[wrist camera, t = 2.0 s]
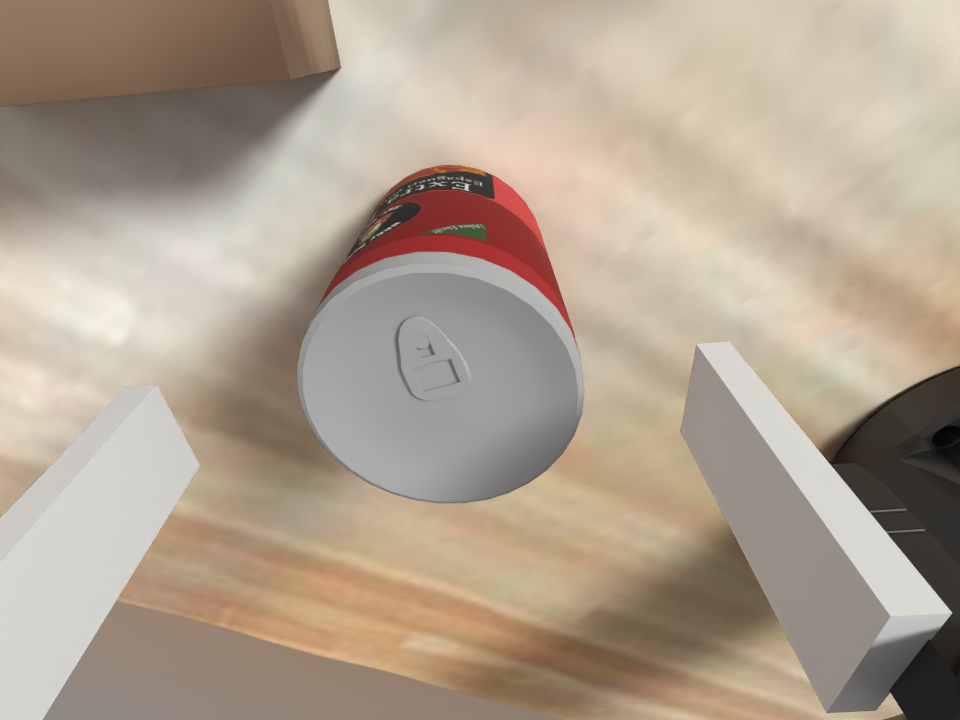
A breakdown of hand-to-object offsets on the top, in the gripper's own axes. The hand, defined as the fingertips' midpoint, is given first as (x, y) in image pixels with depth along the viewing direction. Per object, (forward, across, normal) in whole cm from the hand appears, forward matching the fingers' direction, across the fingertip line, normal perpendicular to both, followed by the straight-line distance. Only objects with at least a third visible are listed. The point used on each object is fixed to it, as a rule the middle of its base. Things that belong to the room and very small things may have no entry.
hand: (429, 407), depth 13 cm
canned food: (+12, 0, 0) cm, 12 cm away
